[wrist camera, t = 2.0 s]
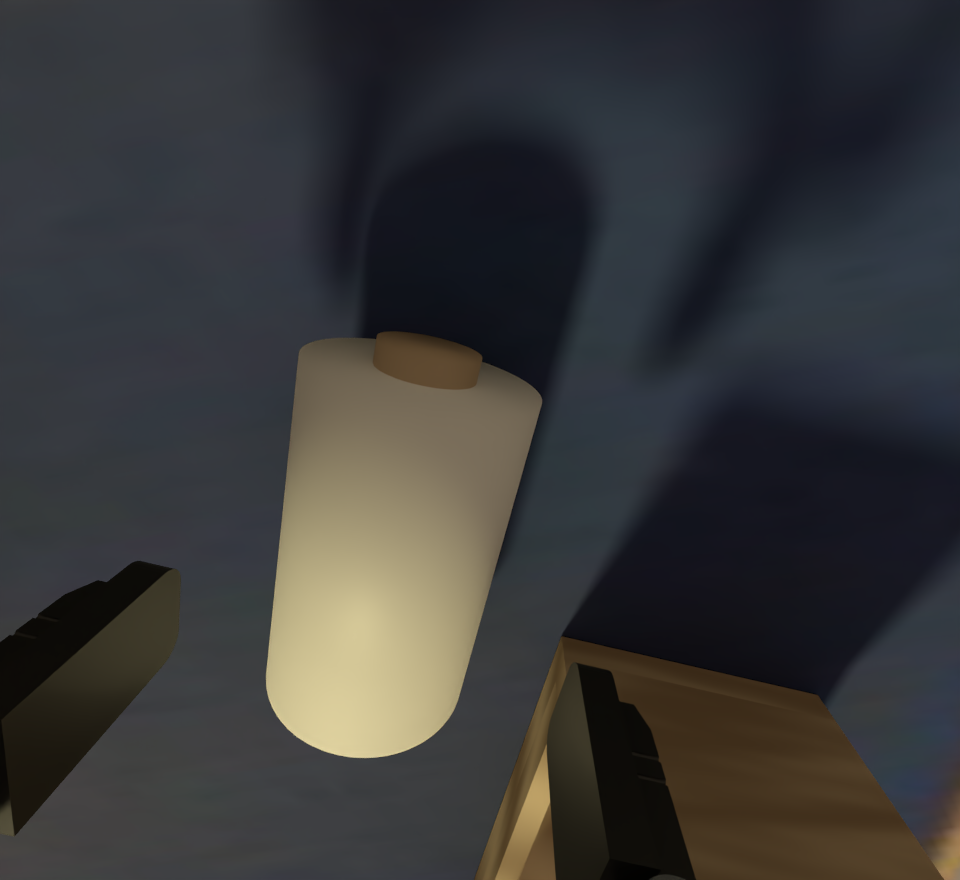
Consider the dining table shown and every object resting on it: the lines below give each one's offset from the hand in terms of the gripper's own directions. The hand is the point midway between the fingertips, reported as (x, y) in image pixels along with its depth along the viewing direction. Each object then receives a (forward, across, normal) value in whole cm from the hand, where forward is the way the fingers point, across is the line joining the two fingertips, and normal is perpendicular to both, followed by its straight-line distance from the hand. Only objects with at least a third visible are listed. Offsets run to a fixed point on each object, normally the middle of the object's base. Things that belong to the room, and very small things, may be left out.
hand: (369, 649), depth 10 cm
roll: (+6, 0, -1) cm, 6 cm away
